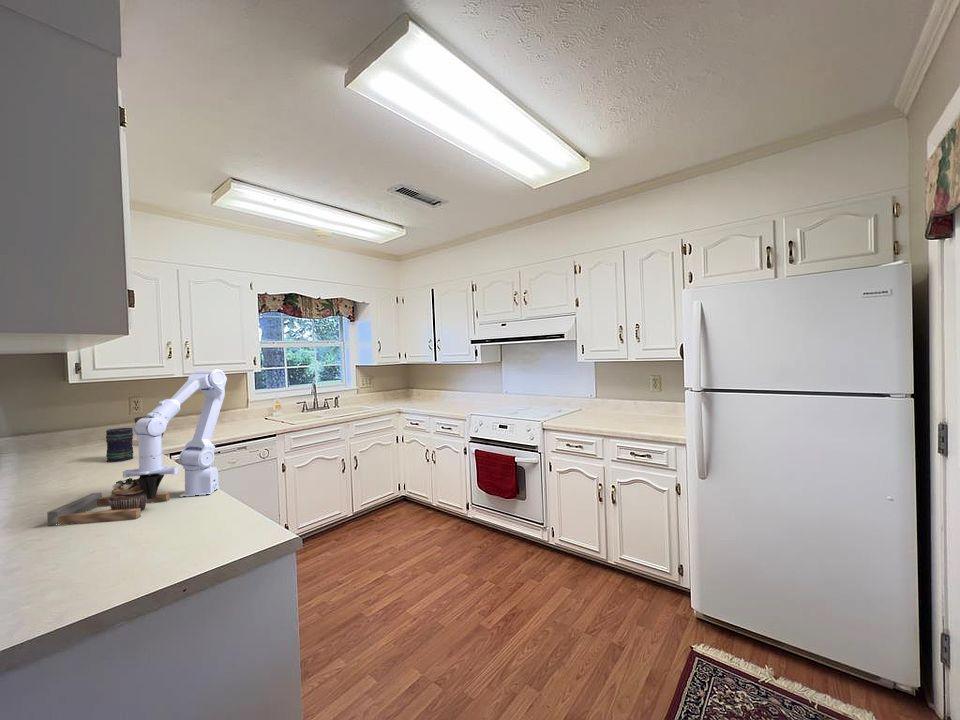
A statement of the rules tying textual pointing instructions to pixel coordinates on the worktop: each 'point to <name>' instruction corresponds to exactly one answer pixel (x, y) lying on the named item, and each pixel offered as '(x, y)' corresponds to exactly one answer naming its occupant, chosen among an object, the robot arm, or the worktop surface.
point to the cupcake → (127, 495)
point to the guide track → (78, 514)
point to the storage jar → (119, 444)
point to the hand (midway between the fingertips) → (151, 498)
